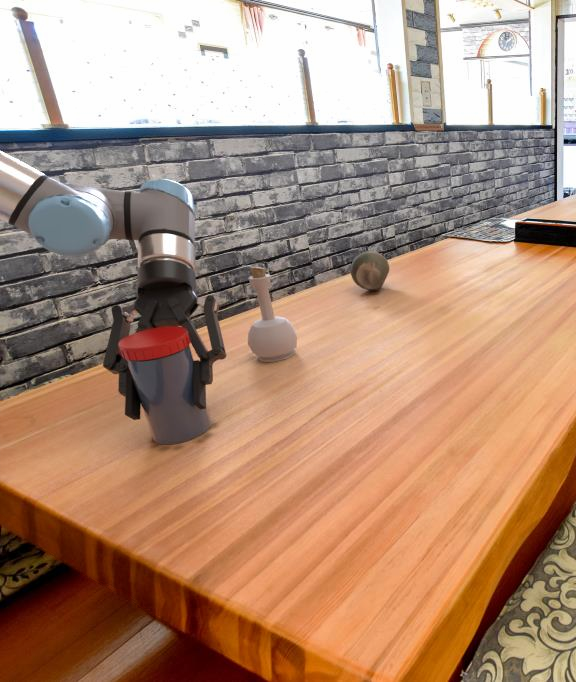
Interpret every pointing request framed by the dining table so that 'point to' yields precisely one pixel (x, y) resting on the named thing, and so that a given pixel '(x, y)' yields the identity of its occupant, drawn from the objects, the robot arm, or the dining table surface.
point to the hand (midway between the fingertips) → (166, 411)
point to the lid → (154, 343)
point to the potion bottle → (269, 325)
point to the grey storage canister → (169, 397)
